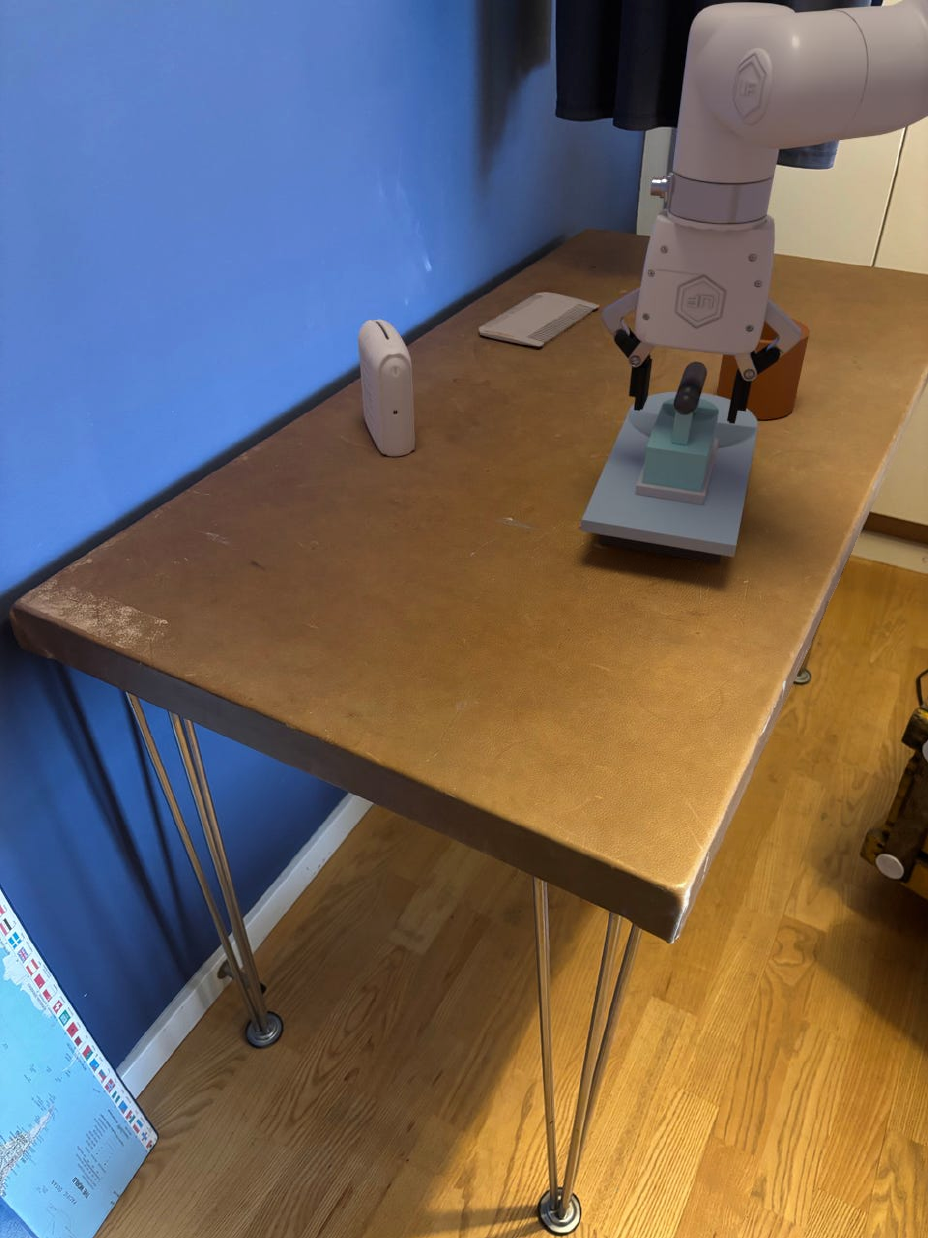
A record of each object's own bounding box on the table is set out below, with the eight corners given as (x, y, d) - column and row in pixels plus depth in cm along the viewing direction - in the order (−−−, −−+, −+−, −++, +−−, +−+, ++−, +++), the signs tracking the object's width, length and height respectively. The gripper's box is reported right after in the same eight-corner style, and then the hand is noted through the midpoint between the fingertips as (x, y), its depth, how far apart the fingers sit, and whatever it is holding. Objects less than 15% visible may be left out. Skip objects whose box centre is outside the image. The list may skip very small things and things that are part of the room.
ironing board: (754, 443, 99) (763, 400, 96) (726, 593, 78) (736, 545, 75) (635, 426, 102) (640, 384, 99) (577, 566, 81) (581, 519, 78)
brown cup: (810, 387, 110) (828, 313, 104) (780, 427, 102) (798, 349, 96) (737, 372, 113) (751, 299, 108) (703, 409, 105) (716, 333, 100)
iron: (703, 505, 80) (720, 408, 74) (634, 494, 81) (646, 398, 75) (718, 445, 88) (734, 353, 82) (656, 436, 90) (668, 346, 84)
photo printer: (420, 454, 98) (415, 342, 90) (381, 460, 97) (372, 347, 89) (397, 413, 105) (390, 307, 98) (360, 418, 104) (351, 311, 97)
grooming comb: (538, 349, 119) (538, 343, 118) (472, 334, 123) (472, 328, 123) (600, 307, 131) (601, 301, 131) (539, 294, 135) (539, 289, 135)
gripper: (596, 201, 69) (580, 415, 80) (837, 220, 65) (785, 443, 76) (616, 178, 75) (598, 381, 86) (839, 194, 70) (790, 405, 81)
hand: (686, 409), depth 81 cm, fingers open, 7 cm apart
